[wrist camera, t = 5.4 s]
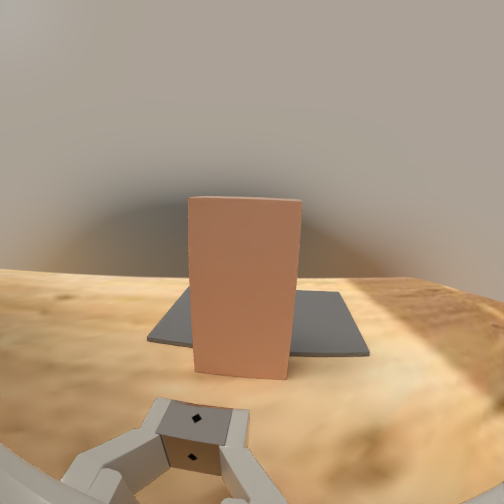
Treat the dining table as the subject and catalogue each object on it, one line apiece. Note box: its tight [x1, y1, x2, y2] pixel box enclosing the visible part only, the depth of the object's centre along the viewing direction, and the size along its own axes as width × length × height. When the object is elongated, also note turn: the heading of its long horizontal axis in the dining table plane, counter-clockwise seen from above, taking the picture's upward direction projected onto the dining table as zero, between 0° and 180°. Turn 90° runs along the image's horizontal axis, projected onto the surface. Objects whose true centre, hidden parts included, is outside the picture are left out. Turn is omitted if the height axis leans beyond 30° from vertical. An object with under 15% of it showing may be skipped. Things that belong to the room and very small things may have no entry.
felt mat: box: [147, 286, 370, 356], centre depth 31 cm, size 20×15×1 cm
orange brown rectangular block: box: [188, 196, 302, 380], centre depth 20 cm, size 7×3×13 cm, turn 85°
